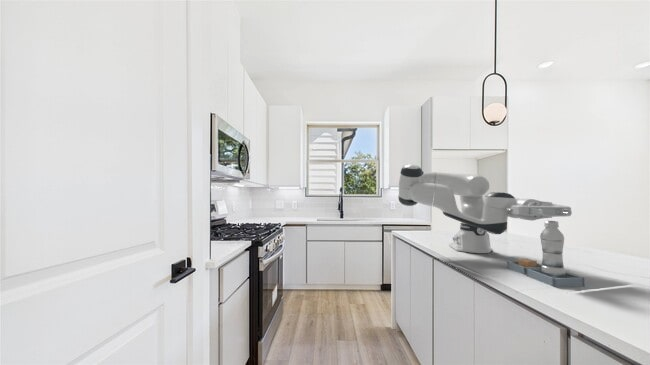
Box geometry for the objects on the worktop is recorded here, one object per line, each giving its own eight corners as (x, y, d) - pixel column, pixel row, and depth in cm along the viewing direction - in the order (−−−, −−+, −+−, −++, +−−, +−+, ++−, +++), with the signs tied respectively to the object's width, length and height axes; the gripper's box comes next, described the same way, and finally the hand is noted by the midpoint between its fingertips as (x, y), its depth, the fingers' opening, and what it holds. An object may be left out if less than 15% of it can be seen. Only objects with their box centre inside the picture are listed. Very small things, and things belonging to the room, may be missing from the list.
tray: (526, 277, 99) (526, 268, 99) (554, 276, 100) (553, 268, 100) (553, 288, 88) (553, 278, 88) (584, 287, 88) (584, 277, 89)
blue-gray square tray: (507, 269, 110) (507, 261, 110) (529, 268, 110) (529, 260, 110) (525, 276, 101) (525, 267, 101) (549, 275, 101) (549, 267, 101)
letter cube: (518, 269, 107) (518, 259, 107) (527, 268, 108) (526, 258, 108) (528, 272, 103) (527, 261, 103) (536, 271, 104) (536, 261, 104)
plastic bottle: (556, 277, 97) (554, 220, 98) (571, 283, 90) (569, 222, 91) (536, 276, 98) (534, 220, 98) (549, 283, 91) (547, 222, 92)
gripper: (503, 201, 115) (528, 203, 101) (553, 202, 115) (584, 204, 101) (503, 216, 115) (528, 220, 101) (553, 217, 115) (584, 221, 101)
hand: (556, 212), depth 101 cm, fingers open, 8 cm apart
